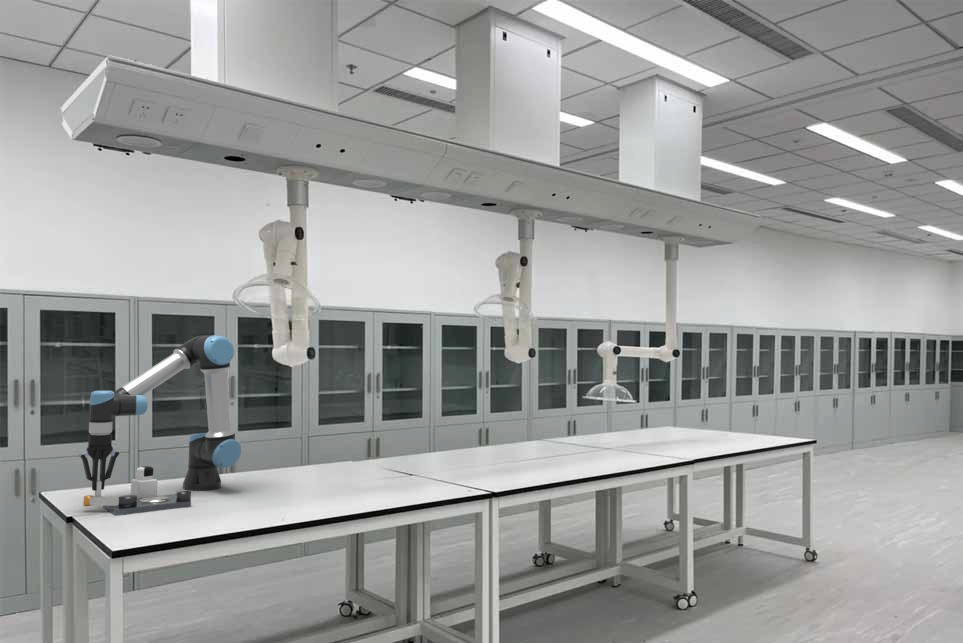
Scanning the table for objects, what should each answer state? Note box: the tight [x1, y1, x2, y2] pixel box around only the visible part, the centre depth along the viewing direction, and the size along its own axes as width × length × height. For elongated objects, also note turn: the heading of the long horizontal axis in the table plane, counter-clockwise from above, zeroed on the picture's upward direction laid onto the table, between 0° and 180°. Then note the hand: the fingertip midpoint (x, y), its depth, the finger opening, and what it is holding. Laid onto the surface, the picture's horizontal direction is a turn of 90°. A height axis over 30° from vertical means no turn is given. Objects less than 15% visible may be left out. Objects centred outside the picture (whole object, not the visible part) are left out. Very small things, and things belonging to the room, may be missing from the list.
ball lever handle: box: [82, 494, 137, 507], centre depth 257 cm, size 18×6×3 cm, turn 96°
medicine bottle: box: [130, 465, 158, 498], centre depth 281 cm, size 7×7×12 cm
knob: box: [175, 490, 192, 502], centre depth 270 cm, size 8×5×3 cm, turn 42°
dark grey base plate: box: [102, 493, 192, 517], centre depth 266 cm, size 26×16×2 cm, turn 132°
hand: (97, 499), depth 259 cm, fingers closed
